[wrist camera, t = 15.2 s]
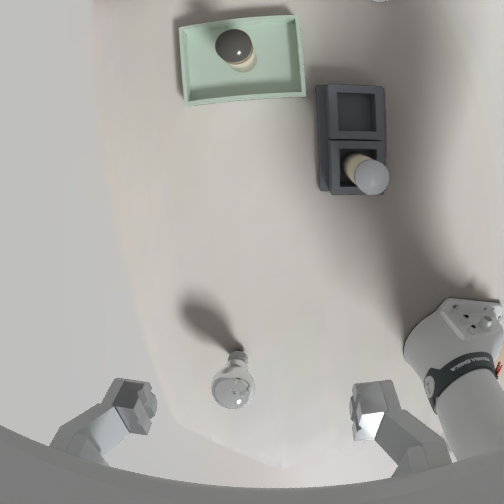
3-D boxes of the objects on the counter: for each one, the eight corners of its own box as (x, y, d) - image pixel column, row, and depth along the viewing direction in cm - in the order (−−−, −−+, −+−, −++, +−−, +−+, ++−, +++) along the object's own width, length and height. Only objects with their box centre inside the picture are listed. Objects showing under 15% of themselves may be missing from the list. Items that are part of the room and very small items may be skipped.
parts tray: (297, 20, 33) (298, 14, 31) (304, 97, 37) (306, 95, 35) (184, 31, 34) (178, 27, 32) (189, 106, 39) (184, 105, 36)
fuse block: (381, 88, 36) (390, 86, 32) (383, 189, 41) (391, 195, 38) (315, 86, 36) (318, 83, 33) (320, 189, 42) (323, 195, 39)
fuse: (367, 151, 38) (389, 160, 30) (367, 178, 40) (388, 195, 32) (340, 150, 39) (356, 160, 30) (340, 178, 40) (355, 195, 32)
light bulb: (211, 348, 55) (197, 398, 44) (242, 331, 53) (233, 383, 42) (236, 371, 57) (227, 422, 46) (266, 357, 54) (263, 409, 44)
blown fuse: (256, 45, 34) (250, 27, 26) (258, 71, 36) (253, 59, 28) (227, 48, 35) (213, 31, 27) (229, 74, 36) (216, 63, 28)
